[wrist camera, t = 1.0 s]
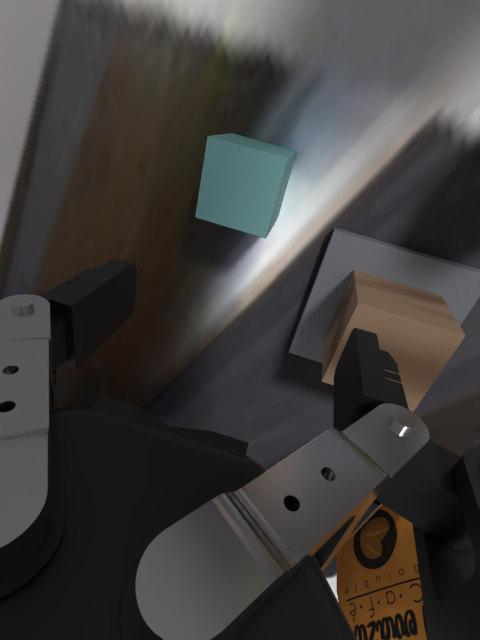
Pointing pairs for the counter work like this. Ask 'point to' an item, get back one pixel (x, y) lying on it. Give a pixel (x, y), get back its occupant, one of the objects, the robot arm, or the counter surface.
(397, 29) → the counter surface
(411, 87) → the counter surface
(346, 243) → the slate pad
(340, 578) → the coffee package
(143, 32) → the counter surface
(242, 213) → the teal block
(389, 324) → the walnut block
